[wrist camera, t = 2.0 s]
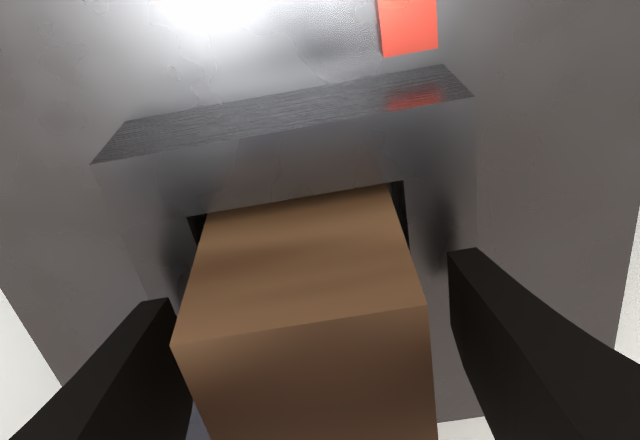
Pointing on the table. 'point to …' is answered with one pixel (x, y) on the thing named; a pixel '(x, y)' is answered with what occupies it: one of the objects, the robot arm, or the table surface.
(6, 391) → the table surface
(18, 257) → the dark grey stepped base
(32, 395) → the table surface
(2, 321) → the table surface
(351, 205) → the walnut post
